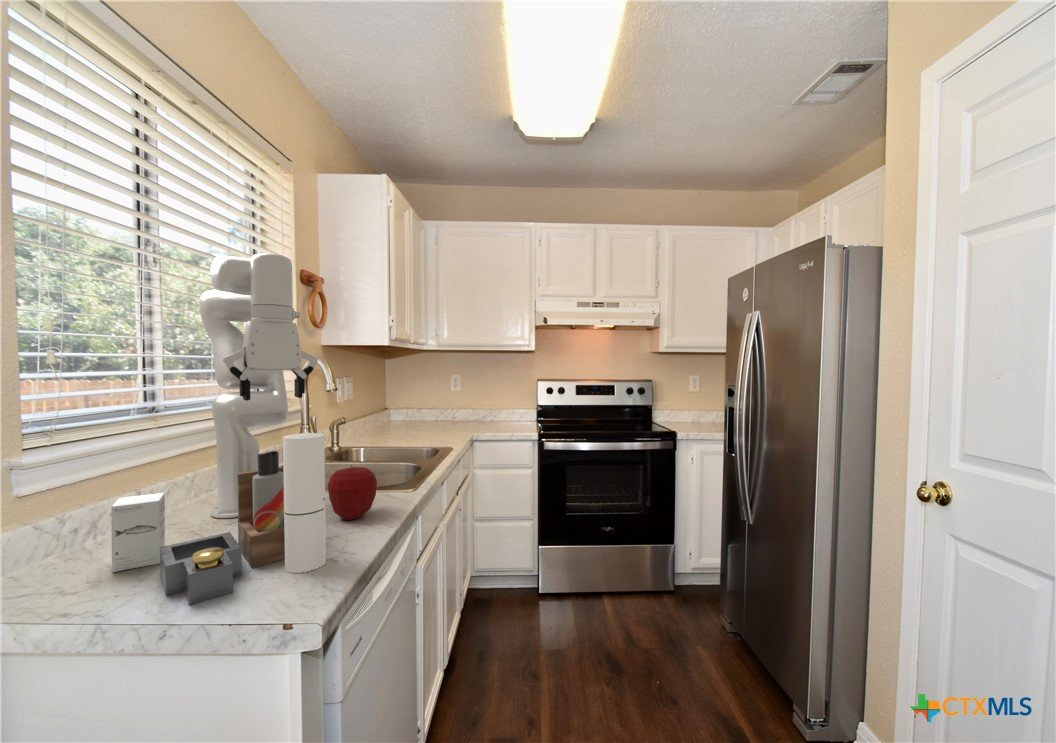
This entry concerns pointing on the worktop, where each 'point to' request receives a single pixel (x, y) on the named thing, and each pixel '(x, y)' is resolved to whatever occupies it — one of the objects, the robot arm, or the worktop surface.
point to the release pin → (207, 557)
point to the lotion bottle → (268, 493)
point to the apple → (352, 492)
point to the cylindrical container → (304, 502)
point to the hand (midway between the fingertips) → (273, 398)
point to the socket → (205, 581)
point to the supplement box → (137, 531)
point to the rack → (252, 543)
